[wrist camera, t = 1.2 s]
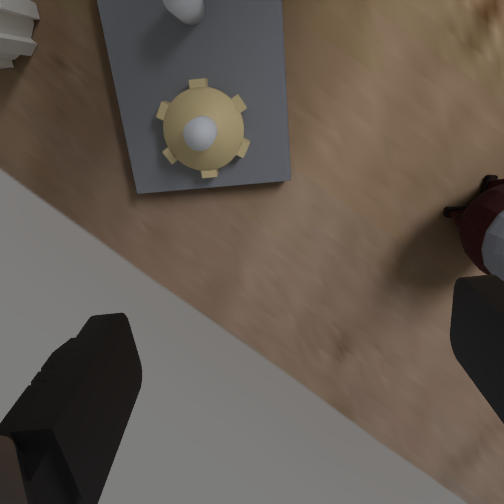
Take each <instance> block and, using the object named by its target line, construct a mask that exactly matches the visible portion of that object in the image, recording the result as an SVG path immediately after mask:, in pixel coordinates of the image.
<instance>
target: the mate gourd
mask: <svg viewBox="0 0 504 504" xmlns="http://www.w3.org/2000/svg"><path fill="white" fill-rule="evenodd" d="M497 179H498V176H496V175H487V176H485V179H484V182H483V186H482V190H481V194H480V195H479V196H478V197H476V198H475V199H474V200H472V201H471V203H470V204H469V205H468V207H445V209H444V213H443V214H444V216H445V217H450V218H452V219H453V221H454V222H455V224H456V225H457V226H458V227H459V233H460V237H461V241H462V245H463V248H464V250H465V253H466V254H467V255H468V256H469V258H470V259H471V260H472V261H473V263H474V264H475V265H476V266H477V267H478V268H479V270H481V271H482V272H484V273H485V274H487V275H491V274H492V275H496V276H498V277H499V278H500V279H501V280H503V281H504V179H499V180H497Z"/></svg>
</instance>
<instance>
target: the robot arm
mask: <svg viewBox="0 0 504 504" xmlns="http://www.w3.org/2000/svg"><path fill="white" fill-rule="evenodd" d="M450 341H451V346H452V349H453V352H454V355H455V357H456V359H457V360H458V362H459V363H460V364H461V366H462V367H463V368H464V370H465V371H466V373H467V374H468V375H469V377H470V378H471V379H472V381H473V382H474V384H475V385H476V386H477V388H478V389H479V390H480V392H481V393H482V395H483V396H484V397H485V399H486V400H487V401H488V403H489V404H490V406H491V407H492V408H493V410H494V411H495V412H496V414H497V415H498V417H499V418H500V419H501V421H502V422H503V423H504V281H503V280H501V279H500V278H499V277H498V276H496V275H492V274H491V275H482V276H472V277H463V278H458V279H457V281H456V282H455V285H454V293H453V305H452V316H451V327H450ZM141 382H142V367H141V362H140V359H139V355H138V351H137V348H136V345H135V341H134V338H133V334H132V331H131V327H130V324H129V321H128V318H127V317H126V315H125V314H124V313H114V314H105V315H95V316H91V317H90V318H89V319H88V321H87V322H86V324H85V325H84V327H83V328H82V330H81V331H80V332H79V334H78V335H77V337H76V338H71V339H69V340H68V341H67V342H66V343H64V344H63V345H62V346H60V347H59V348H58V349H57V350H55V351H54V352H53V353H52V354H51V356H50V357H49V358H48V360H47V361H46V362H45V364H44V365H43V366H42V368H41V371H40V372H38V373H37V374H36V376H35V377H34V379H33V380H32V381H31V385H29V386H28V387H27V388H26V389H25V391H24V392H23V393H22V395H21V396H20V397H19V399H18V400H17V402H16V403H15V404H14V406H13V407H12V408H11V410H10V411H9V412H8V414H7V415H6V416H5V418H4V419H3V421H2V422H1V423H0V504H98V501H99V499H100V496H101V493H102V490H103V487H104V485H105V482H106V480H107V477H108V474H109V472H110V468H111V466H112V464H113V461H114V458H115V455H116V452H117V450H118V447H119V445H120V442H121V439H122V437H123V434H124V431H125V428H126V426H127V423H128V420H129V418H130V415H131V412H132V409H133V407H134V404H135V402H136V399H137V396H138V393H139V391H140V388H141Z"/></svg>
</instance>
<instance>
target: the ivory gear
mask: <svg viewBox="0 0 504 504" xmlns="http://www.w3.org/2000/svg"><path fill="white" fill-rule="evenodd" d="M39 19H40V17H39V13H38V10H37V6H36V3H35V2H33V1H30V0H0V69H5V68H14V66H13V62H12V60H15V59H16V58H17V57H18V56H20V55H26V56H32V54H33V52H34V50H35V48H36V47H37V45H38V44H37V43H36V42H35V41H33V40H32V39H31V37H32V32H33V27H34V22H33V20H39Z"/></svg>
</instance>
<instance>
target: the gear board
mask: <svg viewBox="0 0 504 504" xmlns="http://www.w3.org/2000/svg"><path fill="white" fill-rule="evenodd" d="M97 4H98V9H99V13H100V18H101V23H102V28H103V32H104V37H105V42H106V47H107V52H108V56H109V61H110V66H111V71H112V75H113V80H114V85H115V90H116V95H117V99H118V104H119V109H120V114H121V118H122V123H123V128H124V133H125V138H126V142H127V147H128V152H129V157H130V161H131V166H132V171H133V176H134V181H135V185H136V190H137V194H142V193H154V192H165V191H176V190H188V189H199V188H211V187H222V186H234V185H245V184H257V183H268V182H279V181H291V171H290V152H289V132H288V113H287V93H286V74H285V54H284V35H283V15H282V0H97Z"/></svg>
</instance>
